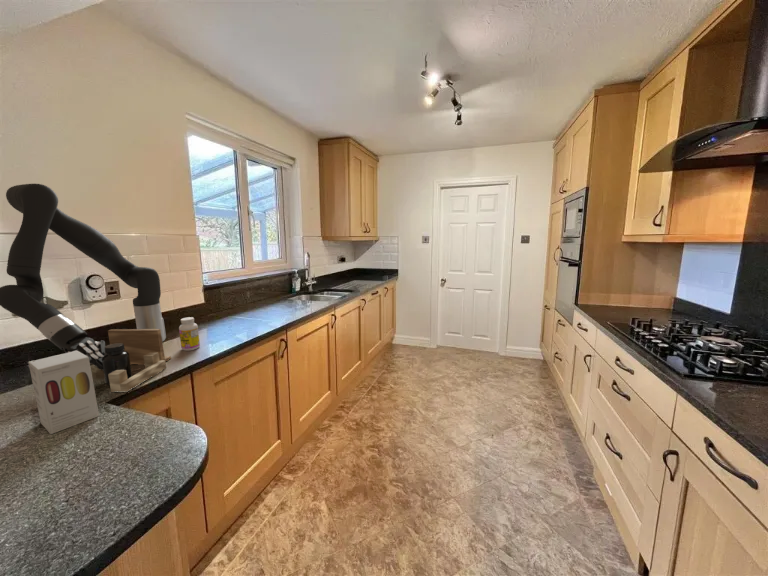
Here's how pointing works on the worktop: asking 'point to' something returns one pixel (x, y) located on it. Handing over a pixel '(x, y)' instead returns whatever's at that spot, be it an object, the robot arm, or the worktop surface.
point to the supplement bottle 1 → (116, 360)
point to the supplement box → (64, 390)
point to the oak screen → (139, 343)
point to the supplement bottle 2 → (189, 334)
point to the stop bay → (124, 384)
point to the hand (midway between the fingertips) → (107, 367)
